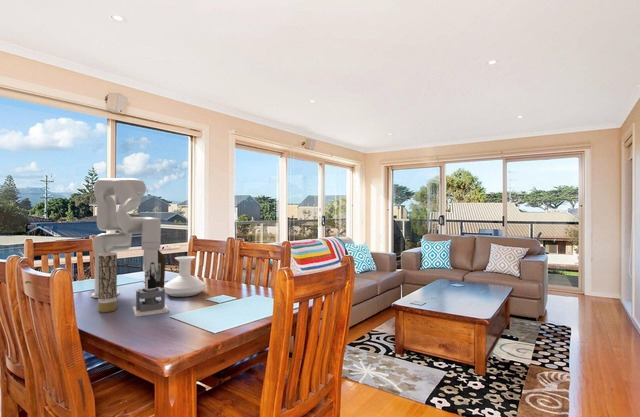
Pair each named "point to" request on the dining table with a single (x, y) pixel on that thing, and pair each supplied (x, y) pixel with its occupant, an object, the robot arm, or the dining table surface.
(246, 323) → the dining table surface
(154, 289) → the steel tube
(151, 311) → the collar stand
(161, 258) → the olive oil
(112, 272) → the bark-patterned cylinder
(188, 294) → the white vase
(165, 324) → the dining table surface
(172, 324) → the dining table surface
